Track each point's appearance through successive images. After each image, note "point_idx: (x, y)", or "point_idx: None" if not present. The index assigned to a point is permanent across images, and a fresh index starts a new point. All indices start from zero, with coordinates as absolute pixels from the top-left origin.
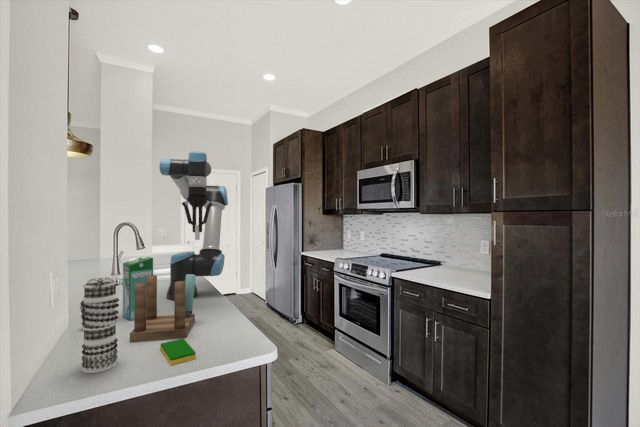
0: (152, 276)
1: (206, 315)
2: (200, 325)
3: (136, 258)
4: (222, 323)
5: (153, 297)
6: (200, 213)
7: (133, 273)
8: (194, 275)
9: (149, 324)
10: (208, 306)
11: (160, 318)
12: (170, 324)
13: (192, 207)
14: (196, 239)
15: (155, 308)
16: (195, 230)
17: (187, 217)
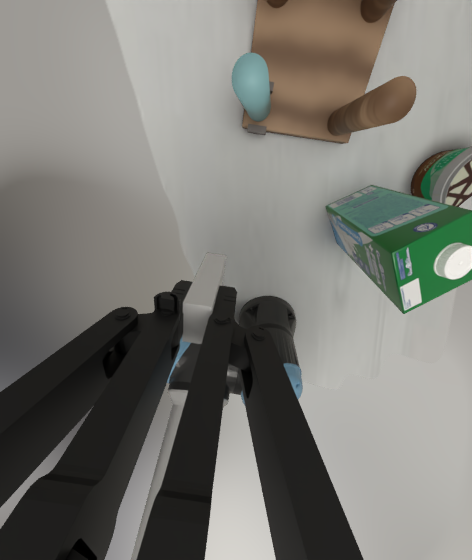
0: (393, 94)
1: (219, 167)
2: (229, 84)
3: (450, 265)
4: (180, 81)
5: (357, 98)
6: (109, 404)
7: (435, 208)
8: (235, 69)
9: (348, 58)
10: (217, 235)
11: (319, 111)
12: (299, 35)
13: (200, 555)
14: (218, 255)
15: (339, 109)
16: (215, 282)
17: (282, 379)
